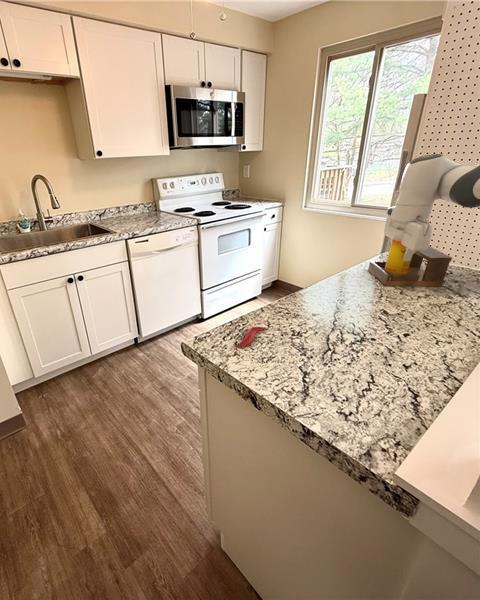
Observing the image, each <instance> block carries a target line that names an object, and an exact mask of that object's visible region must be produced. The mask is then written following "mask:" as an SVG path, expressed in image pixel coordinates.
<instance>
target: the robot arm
mask: <svg viewBox="0 0 480 600" xmlns="http://www.w3.org/2000/svg"><path fill="white" fill-rule="evenodd" d="M404 169H405V170H404V172H403V174H402V176H401V181H400V184H399V188H398V190H399V195H398V198H397V200H395V204H394V206H391V207H388V208H387V209H386V215H387V216H386V219H385V223H384V230H383V232H384V236H386V237H387V238H389V239H390V243H391V242H392V238H393V234H394V231H395V230H396V229H397V228H398V229H401V230H404V231H405V232H403V238H402V241H401V244H402V245H403V246H405V247H406V250H407V251H406V252H405V254H403V255H402V259H403V260H404V261H410V260H411V257H412V255H413V254H414V253H415V252H416V251H425V250H427V248H428V247H429V246H430V243H431V239H432V234H433V226H432V225H431V223H430V220H429V219H430V218H431V217H430V216H431V213H432V210H433V207H434V203H435V201H436V200H443V201H446V202H450V203H454V204H456V205H458V206H461V207H463V208H469V209H474V208H479V207H480V163H478V164H476V165H467V164H466V165H465V164H462V163H458V162H455V161H453V160H451V159H449V158H447V157H446V156H445V155H444V154H441V153H433V154H425V155H422V156H418V157H415V158H414V159H412V160H410V161H409V162H408V164H407V165H406V167H405V168H404Z"/></svg>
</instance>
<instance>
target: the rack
mask: <svg viewBox="0 0 480 600" xmlns="http://www.w3.org/2000/svg"><path fill="white" fill-rule="evenodd" d="M423 260H426V261H427V262H426V265H425V269H424V268H422V267H421V266H422V264H423ZM452 260H453V257H451V256H450V255H448V254H447V253H444V252H443V251H440V250H438V249H436V248H434V247H432V246H430V245H429V247H428V248H427V250H425V251H416V252H415V253H414V254H413V255H412V259H411V262H410V266H409V269H408V273H407V274H405V275H389V274H388V273H387V272H386V271H385V266H386V262H387V260H375V261H373V260H370V261H369V265H368V269H367V271H368V272H369V273H370V274H371V275H372V276H374V277H375V278H376V279H377V280H378V281H379V282H380V283H381V284H383V285H384V286H387V287H389V286H390V287H442V286H443V283H444V280H445V278H446V274H447V272H448V269H449V265H450V263H451V262H452Z"/></svg>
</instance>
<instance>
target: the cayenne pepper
mask: <svg viewBox="0 0 480 600" xmlns="http://www.w3.org/2000/svg"><path fill="white" fill-rule="evenodd" d="M265 330H267V329H266V328H265V327H262V326H252V327H250V328H247V330H246V333H245V336H244V338H243V339H242V340H241V341H240V342H239V343H238V344H237V345H236V346H235V347H236V348H247V347H248V346H250V345H252V343H254V340H255V337H256V335H257V333H259V332H262V331H265Z"/></svg>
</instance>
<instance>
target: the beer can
mask: <svg viewBox="0 0 480 600" xmlns="http://www.w3.org/2000/svg"><path fill="white" fill-rule="evenodd" d="M403 232H405V231H404V230H401V229H398V228H397V229H396V230H395V231H394V234H393V238H392V242H391V241H390V247H389V251H388V254H387V258H386V261H387V262H386V266H385V271H386V272H387V273H388V274H389V275H405V274H407V273H408V269H409V266H410V262H411V260H410V261H404V260H403V259H402V255H403V254H405V252H406V251H407V250H406V247H405V246H403V245H402V244H401V241H402V238H403ZM411 259H412V257H411Z"/></svg>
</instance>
